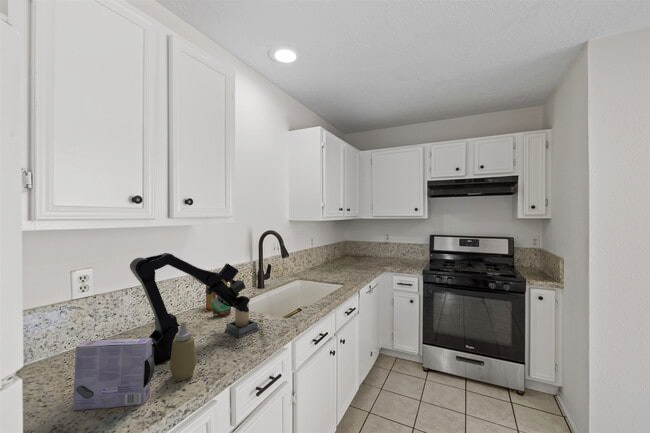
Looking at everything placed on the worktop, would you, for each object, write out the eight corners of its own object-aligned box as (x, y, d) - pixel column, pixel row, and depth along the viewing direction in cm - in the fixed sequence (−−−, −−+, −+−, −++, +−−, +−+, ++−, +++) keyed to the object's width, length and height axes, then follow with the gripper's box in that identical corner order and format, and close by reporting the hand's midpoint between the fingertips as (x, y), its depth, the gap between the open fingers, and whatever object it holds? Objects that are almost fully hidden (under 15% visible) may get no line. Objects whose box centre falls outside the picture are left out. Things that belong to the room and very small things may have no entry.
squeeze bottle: (178, 386, 88) (178, 329, 88) (164, 378, 92) (164, 324, 92) (201, 373, 95) (201, 321, 95) (187, 366, 99) (187, 316, 99)
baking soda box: (214, 311, 155) (214, 282, 155) (206, 309, 158) (206, 281, 158) (227, 306, 163) (227, 278, 163) (219, 304, 166) (219, 277, 166)
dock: (239, 338, 122) (239, 330, 122) (224, 331, 129) (224, 323, 129) (259, 329, 131) (259, 322, 130) (244, 324, 137) (244, 317, 137)
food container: (217, 320, 142) (217, 300, 142) (210, 317, 146) (210, 298, 146) (237, 313, 152) (237, 295, 152) (231, 310, 156) (231, 292, 156)
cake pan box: (155, 393, 84) (155, 335, 84) (147, 405, 79) (147, 343, 79) (84, 400, 81) (84, 339, 81) (71, 412, 76) (71, 348, 76)
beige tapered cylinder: (244, 327, 126) (244, 298, 126) (232, 326, 127) (232, 297, 127) (251, 322, 132) (251, 295, 131) (239, 321, 133) (239, 294, 133)
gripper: (246, 279, 120) (266, 299, 128) (224, 272, 132) (244, 291, 141) (229, 301, 114) (252, 320, 123) (207, 292, 127) (229, 310, 135)
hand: (244, 309), depth 130 cm, fingers closed on beige tapered cylinder, 6 cm apart
